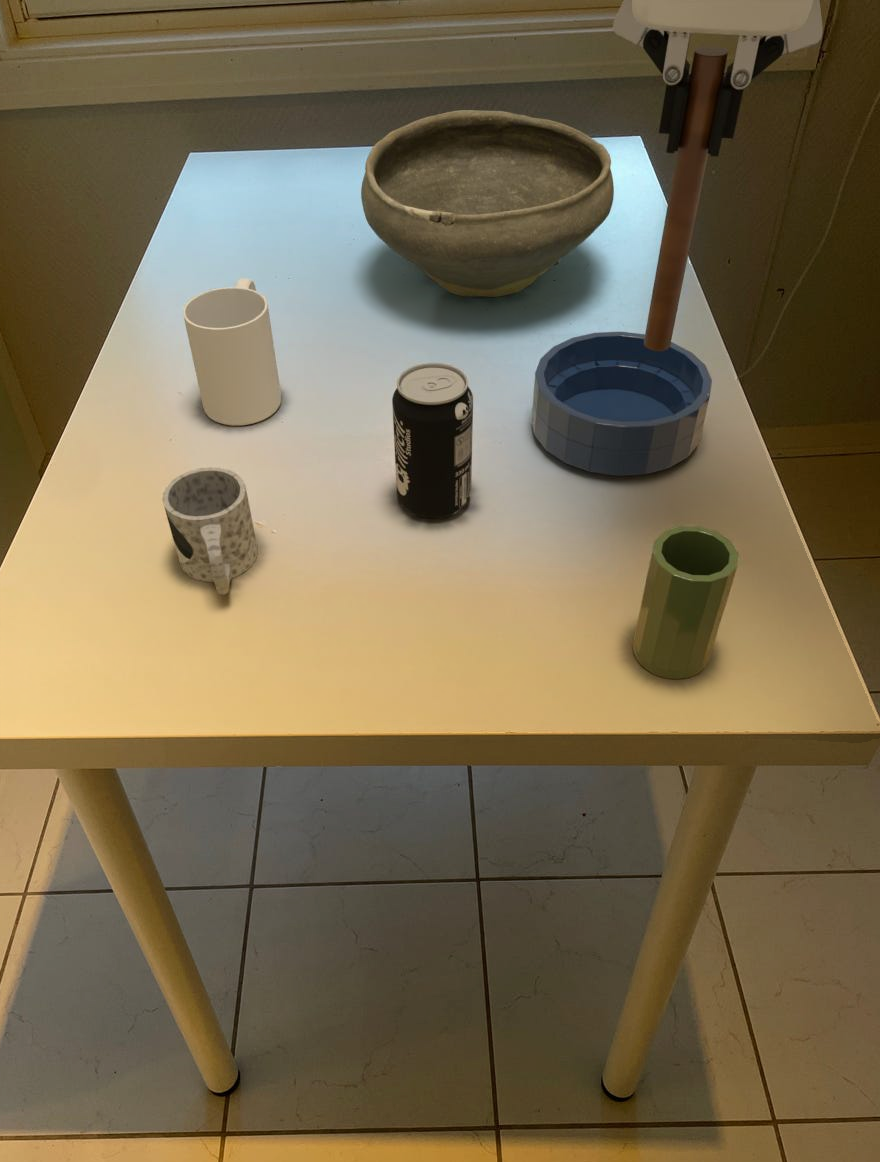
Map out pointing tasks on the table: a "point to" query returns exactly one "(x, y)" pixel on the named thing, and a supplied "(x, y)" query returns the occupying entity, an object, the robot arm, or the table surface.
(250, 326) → the mug
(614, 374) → the mixing bowl
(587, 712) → the table surface
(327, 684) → the table surface
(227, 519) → the mug
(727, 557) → the utensil crock
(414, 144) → the bowl
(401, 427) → the beverage can
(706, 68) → the cooking stick
